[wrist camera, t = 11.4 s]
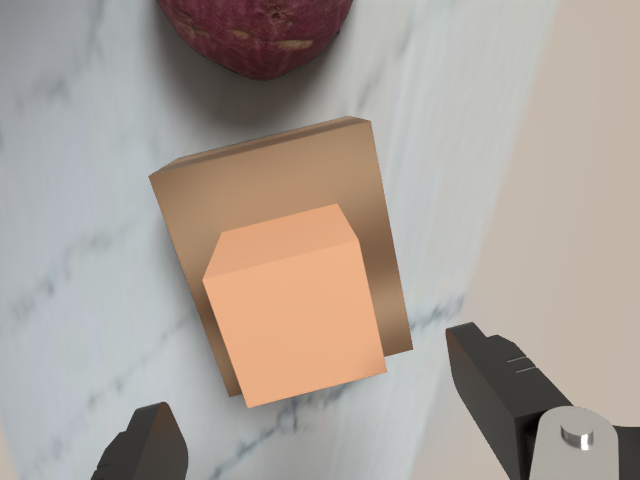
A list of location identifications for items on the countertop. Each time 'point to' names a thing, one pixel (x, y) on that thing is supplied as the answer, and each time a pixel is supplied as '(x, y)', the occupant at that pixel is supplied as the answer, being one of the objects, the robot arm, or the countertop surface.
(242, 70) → the vegetable
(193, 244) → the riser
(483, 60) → the countertop surface
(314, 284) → the block
